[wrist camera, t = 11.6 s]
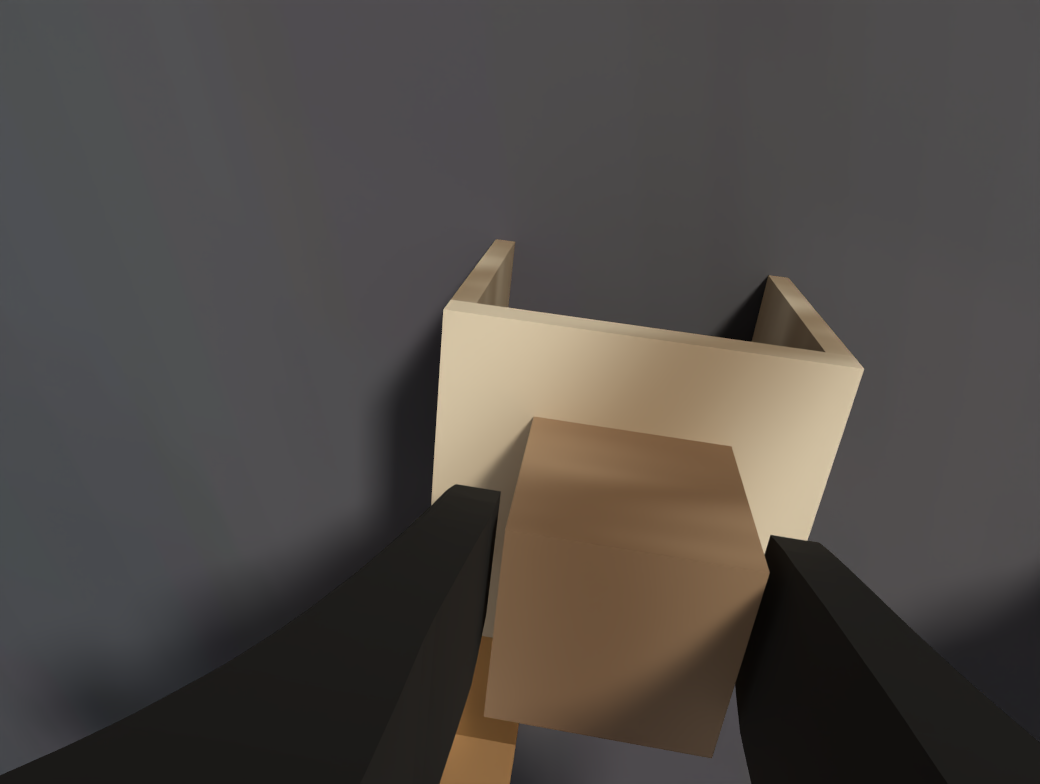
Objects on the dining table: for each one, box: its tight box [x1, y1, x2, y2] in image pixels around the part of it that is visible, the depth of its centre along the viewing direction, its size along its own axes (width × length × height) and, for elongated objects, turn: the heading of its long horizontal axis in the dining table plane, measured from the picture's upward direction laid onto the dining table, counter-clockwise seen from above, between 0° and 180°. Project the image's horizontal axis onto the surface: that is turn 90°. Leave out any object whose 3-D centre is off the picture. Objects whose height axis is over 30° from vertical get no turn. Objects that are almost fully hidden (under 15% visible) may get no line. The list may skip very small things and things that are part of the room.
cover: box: [431, 239, 864, 758], centre depth 12 cm, size 6×6×8 cm
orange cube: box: [440, 636, 519, 784], centre depth 18 cm, size 4×4×4 cm
